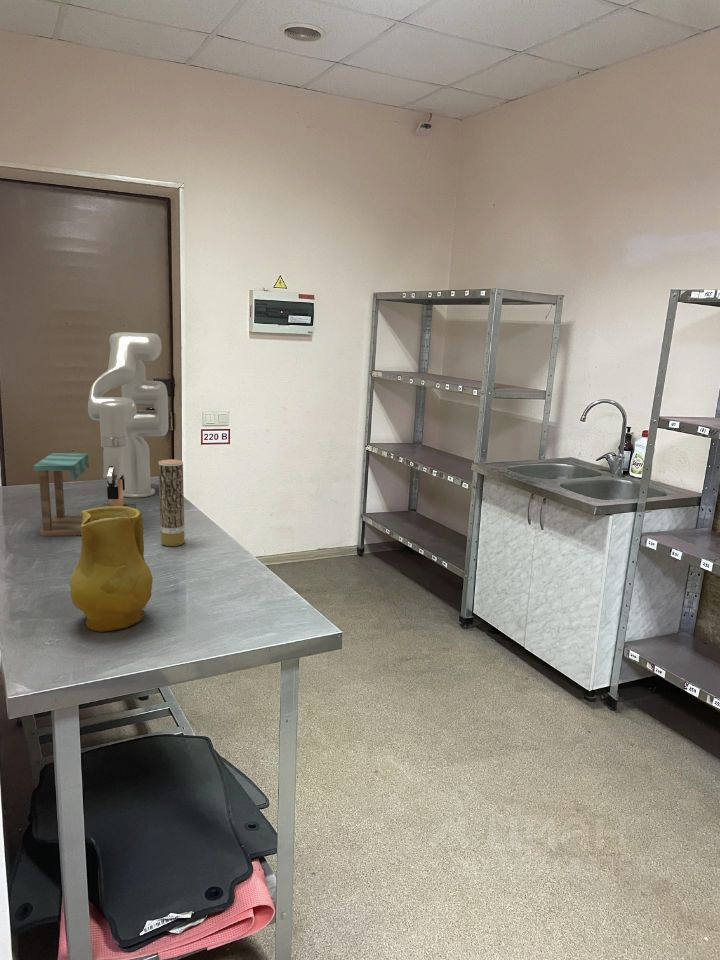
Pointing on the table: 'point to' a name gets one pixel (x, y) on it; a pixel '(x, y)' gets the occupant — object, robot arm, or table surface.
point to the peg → (120, 500)
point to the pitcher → (111, 569)
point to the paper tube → (171, 502)
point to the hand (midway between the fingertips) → (116, 494)
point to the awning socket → (61, 493)
